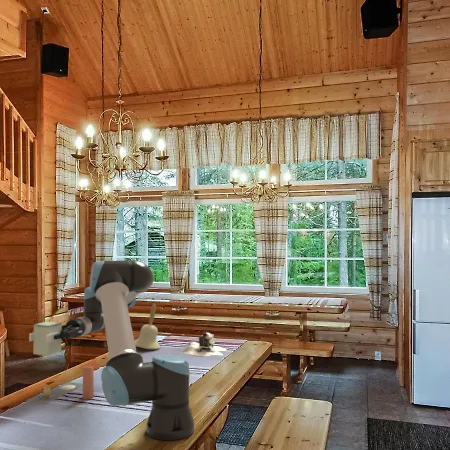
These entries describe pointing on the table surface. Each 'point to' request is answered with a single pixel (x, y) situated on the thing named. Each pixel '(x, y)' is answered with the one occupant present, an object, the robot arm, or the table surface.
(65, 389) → the board
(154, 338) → the handbell
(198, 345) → the cabin
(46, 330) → the pale green block
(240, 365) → the table surface
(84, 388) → the peg
